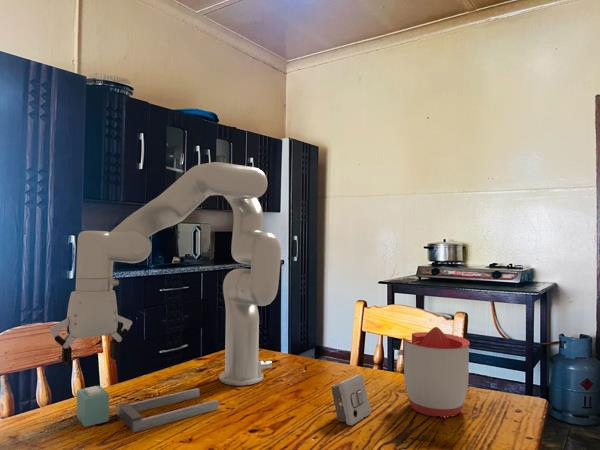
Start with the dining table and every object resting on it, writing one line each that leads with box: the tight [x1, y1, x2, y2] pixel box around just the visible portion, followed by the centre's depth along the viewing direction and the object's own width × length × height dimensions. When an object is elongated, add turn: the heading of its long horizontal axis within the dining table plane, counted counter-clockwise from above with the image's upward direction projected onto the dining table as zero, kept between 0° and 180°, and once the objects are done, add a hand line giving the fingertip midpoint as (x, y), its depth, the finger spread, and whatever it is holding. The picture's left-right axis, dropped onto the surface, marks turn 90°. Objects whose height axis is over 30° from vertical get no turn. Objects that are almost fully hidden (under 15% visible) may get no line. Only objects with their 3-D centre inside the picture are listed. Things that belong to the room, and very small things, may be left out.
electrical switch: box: [330, 373, 372, 426], centre depth 104 cm, size 9×5×9 cm, turn 141°
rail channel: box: [117, 387, 219, 433], centre depth 105 cm, size 20×11×2 cm, turn 129°
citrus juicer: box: [396, 326, 471, 418], centre depth 110 cm, size 16×17×20 cm
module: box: [76, 385, 110, 427], centre depth 101 cm, size 5×7×7 cm
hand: (91, 361), depth 101 cm, fingers open, 9 cm apart
